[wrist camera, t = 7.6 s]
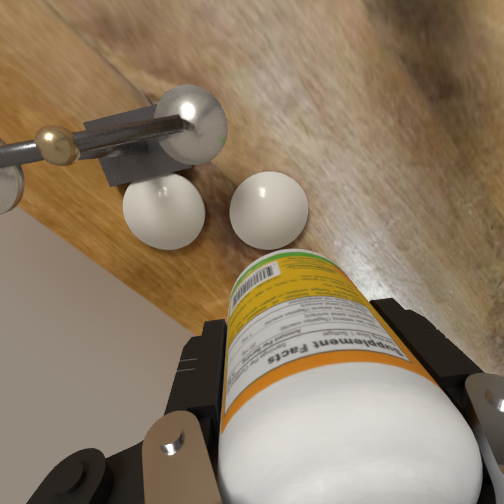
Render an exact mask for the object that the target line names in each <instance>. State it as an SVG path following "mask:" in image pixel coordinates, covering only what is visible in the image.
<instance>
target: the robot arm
mask: <svg viewBox="0 0 504 504" xmlns="http://www.w3.org/2000/svg"><path fill="white" fill-rule="evenodd" d="M369 303H370V304H371V305H372V306H373V308H374V309H375V310H376V311H377V312H378V314H379V315H380V316H381V317H382V318H383V320H384V321H385V322H386V323H387V324H388V325H389V327H390V328H391V329H392V330H393V331H394V333H395V334H396V335H397V336H398V337H399V339H400V340H401V341H402V342H403V343H404V345H405V346H406V347H407V348H408V349H409V351H410V352H411V353H412V354H413V355H414V357H415V358H416V359H417V360H418V361H419V363H420V364H421V365H422V366H423V367H424V369H425V370H426V371H427V372H428V373H429V375H430V376H431V377H432V378H433V379H434V381H435V382H436V383H437V384H438V385H439V387H440V388H441V389H442V390H443V392H444V393H445V394H446V395H447V397H448V398H449V399H450V400H451V402H452V403H453V404H454V406H455V407H456V408H457V409H458V411H459V412H460V413H461V414H462V416H463V417H464V419H465V421H466V422H467V424H468V425H469V427H470V429H471V430H472V432H473V434H474V437H475V439H476V441H477V444H478V446H479V451H480V455H481V461H482V473H483V479H482V486H481V491H480V495H479V498H478V501H477V503H476V504H504V377H502V376H498V375H494V374H489V373H485V372H484V371H482V370H481V369H480V368H479V367H478V366H477V365H476V364H475V363H474V362H473V361H472V360H471V359H469V358H468V357H467V356H466V355H465V354H464V353H463V352H462V351H461V350H460V349H459V348H458V347H456V346H455V345H454V344H453V343H452V342H451V341H450V340H449V339H448V338H447V339H446V337H445V335H444V334H442V333H441V332H440V331H439V330H437V329H436V327H435V326H434V325H433V324H432V323H431V322H429V321H428V320H427V319H426V318H425V317H423V316H421V315H420V314H418V313H416V312H414V311H412V310H405V309H404V308H403V307H402V306H401V305H400V304H399V303H398V302H397V301H395V300H394V299H393V298H386V299H378V300H371V301H370V302H369ZM226 336H227V326H226V321H225V319H219V320H212V321H205V323H204V327H203V331H202V336H196V337H192V338H191V339H190V340H189V341H188V342H187V344H186V345H185V346H184V348H183V351H182V354H181V358H180V362H179V365H178V368H177V372H176V375H175V378H174V382H173V385H172V389H171V393H170V396H169V400H168V403H167V406H166V410H165V413H164V416H163V417H162V418H160V419H159V420H158V421H156V422H155V423H154V424H153V426H152V427H151V428H150V429H149V431H148V432H147V434H146V436H145V438H144V440H143V441H142V442H140V443H138V444H136V445H134V446H132V447H130V448H128V449H126V450H123V451H122V452H119V453H117V454H115V455H112V456H110V457H108V458H105V456H104V454H103V453H102V452H101V451H100V450H98V449H94V448H88V449H83V450H80V451H77V452H75V453H73V454H72V455H70V456H68V457H67V458H65V459H64V460H63V461H61V462H60V463H59V464H58V465H57V466H55V467H54V469H53V470H52V471H51V472H50V473H49V474H48V475H47V476H46V478H45V479H44V480H43V482H42V483H41V484H40V486H39V487H38V489H37V490H36V491H35V492H34V494H33V495H32V496H31V498H30V499H29V501H28V502H27V503H26V504H222V500H221V497H220V493H219V490H218V476H217V469H218V446H219V433H220V421H221V408H222V394H223V380H224V366H225V351H226Z"/></svg>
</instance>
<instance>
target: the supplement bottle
mask: <svg viewBox="0 0 504 504" xmlns="http://www.w3.org/2000/svg"><path fill="white" fill-rule="evenodd" d="M217 476H218V490H219V493H220V497H221V500H222V504H476V503H477V501H478V498H479V495H480V491H481V486H482V479H483V473H482V461H481V455H480V451H479V446H478V444H477V441H476V439H475V437H474V434H473V432H472V430H471V429H470V427H469V425H468V424H467V422H466V421H465V419H464V417H463V416H462V414H461V413H460V412H459V411H458V409H457V408H456V407H455V406H454V404H453V403H452V402H451V400H450V399H449V398H448V397H447V395H446V394H445V393H444V392H443V390H442V389H441V388H440V387H439V385H438V384H437V383H436V382H435V381H434V379H433V378H432V377H431V376H430V375H429V373H428V372H427V371H426V370H425V369H424V367H423V366H422V365H421V364H420V363H419V361H418V360H417V359H416V358H415V357H414V355H413V354H412V353H411V352H410V351H409V349H408V348H407V347H406V346H405V345H404V343H403V342H402V341H401V340H400V339H399V337H398V336H397V335H396V334H395V333H394V331H393V330H392V329H391V328H390V327H389V325H388V324H387V323H386V322H385V321H384V320H383V318H382V317H381V316H380V315H379V314H378V312H377V311H376V310H375V309H374V308H373V306H372V305H371V304H370V303H369V302H368V300H367V299H366V298H365V297H364V296H363V295H362V293H361V292H360V291H359V290H358V289H357V287H356V286H355V285H354V284H353V283H352V281H351V280H350V279H349V278H348V277H347V275H346V274H345V273H344V272H343V271H342V270H341V269H340V268H339V267H338V266H337V265H336V264H335V263H334V262H333V261H331V260H330V259H328V258H327V257H325V256H323V255H321V254H318V253H315V252H312V251H308V250H303V249H285V250H279V251H275V252H272V253H270V254H267V255H265V256H263V257H261V258H259V259H257V260H256V261H254V262H253V263H252V264H250V265H249V266H248V267H247V268H246V269H245V270H244V271H243V272H242V273H241V274H240V276H239V277H238V279H237V281H236V282H235V284H234V286H233V289H232V292H231V295H230V300H229V308H228V322H227V336H226V351H225V366H224V380H223V394H222V408H221V421H220V433H219V446H218V469H217Z"/></svg>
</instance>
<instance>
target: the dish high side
mask: <svg viewBox="0 0 504 504" xmlns="http://www.w3.org/2000/svg"><path fill="white" fill-rule="evenodd" d="M123 213H124V217H125V220H126V222H127V225H128V226H129V228H130V230H131V231H132V232H133V233H134V235H135V236H136V237H137V238H139V239H140V240H141V241H142V242H144V243H145V244H147V245H149V246H152V247H154V248H158V249H163V250H174V249H179V248H182V247H184V246H186V245H188V244H190V243H191V242H192V241H193V240H194V239H195V238H196V237H197V236H198V235H199V233H200V231H201V229H202V227H203V225H204V221H205V215H206V210H205V204H204V200H203V198H202V195H201V194H200V192H199V190H198V189H197V188H196V186H195V185H194V184H193V183H192V182H191V181H190V180H188V179H187V178H186V177H184V176H182V175H180V174H178V173H175V172H171V173H166V174H162V175H158V176H154V177H150V178H145V179H141V180H137V181H133V182H132V183H131V184H130V185H129V187H128V188H127V190H126V192H125V195H124V199H123Z"/></svg>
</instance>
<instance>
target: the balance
mask: <svg viewBox="0 0 504 504" xmlns="http://www.w3.org/2000/svg"><path fill="white" fill-rule="evenodd" d="M84 126H85V128H86V130H85V131H80V132H71V131H69V130H68V129H66V128H64V127H61V126H56V125H49V126H45V127H43V128H41V129H39V130H38V132H37V133H36V135H35V138H34V140H29V141H23V142H17V143H12V144H6V143H5V142H4V141H3V140H2V139H1V138H0V214H4V213H7V212H8V211H11V210H12V209H13V208H15V207H16V206H17V205H18V204H19V202H20V201H21V199H22V196H23V193H24V187H25V182H24V175H23V171H22V168H21V165H22V164H27V163H32V162H37V161H42V160H46V161H47V162H49V163H51V164H53V165H57V166H69V165H72V164H74V163H75V162H76V161H77V160H84V159H95V158H98V159H99V161H100V164H101V166H102V168H103V171H104V173H105V176H106V178H107V180H108V183H109V185H110V187H112V186H116V185H120V184H124V183H129V182H133V181H137V180H141V179H145V178H150V177H154V176H158V175H162V174H166V173H171V172H175V171H179V170H183V169H188V168H192V167H194V166H193V165H199V164H203V163H206V162H208V161H210V160H212V159H213V158H215V157H216V156H217V155H218V154H219V153H220V152H221V150H222V148H223V147H224V145H225V142H226V139H227V132H228V125H227V119H226V115H225V113H224V110H223V108H222V106H221V105H220V103H219V102H218V100H217V99H216V98H215V97H214V96H213V95H212V94H211V93H210V92H208V91H207V90H205V89H203V88H201V87H198V86H195V85H180V86H177V87H174V88H172V89H170V90H169V91H167V92H166V93H165V94H164V95H163V96H162V98H161V99H160V100H159V102H158V104H156V105H152V106H148V107H144V108H140V109H136V110H132V111H128V112H124V113H120V114H116V115H112V116H108V117H104V118H100V119H96V120H92V121H88V122H84Z"/></svg>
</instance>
